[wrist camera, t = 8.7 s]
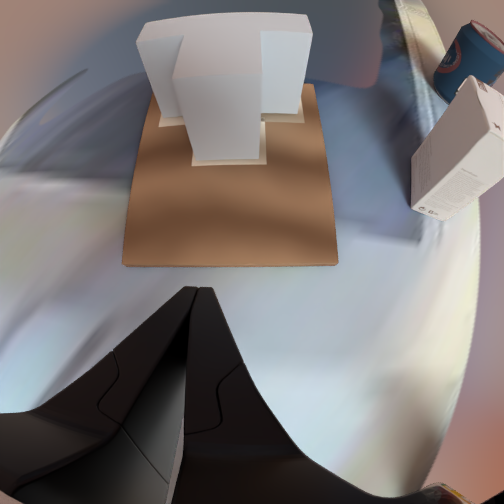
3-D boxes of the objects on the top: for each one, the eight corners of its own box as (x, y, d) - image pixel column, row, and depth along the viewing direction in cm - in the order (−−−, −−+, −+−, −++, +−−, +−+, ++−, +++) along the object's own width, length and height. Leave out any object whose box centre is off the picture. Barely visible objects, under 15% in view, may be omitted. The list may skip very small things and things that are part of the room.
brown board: (334, 265, 22) (338, 262, 21) (126, 266, 21) (121, 263, 20) (311, 90, 26) (313, 83, 25) (156, 95, 26) (153, 88, 25)
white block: (302, 159, 22) (325, 77, 14) (154, 163, 22) (115, 88, 14) (294, 91, 24) (306, 15, 16) (168, 95, 24) (145, 22, 16)
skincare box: (444, 223, 23) (533, 162, 11) (406, 209, 23) (490, 132, 11) (443, 169, 24) (511, 99, 12) (407, 154, 24) (469, 71, 13)
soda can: (429, 69, 28) (463, 10, 17) (468, 94, 28) (507, 42, 16) (429, 96, 27) (471, 29, 15) (472, 123, 26) (520, 67, 15)
